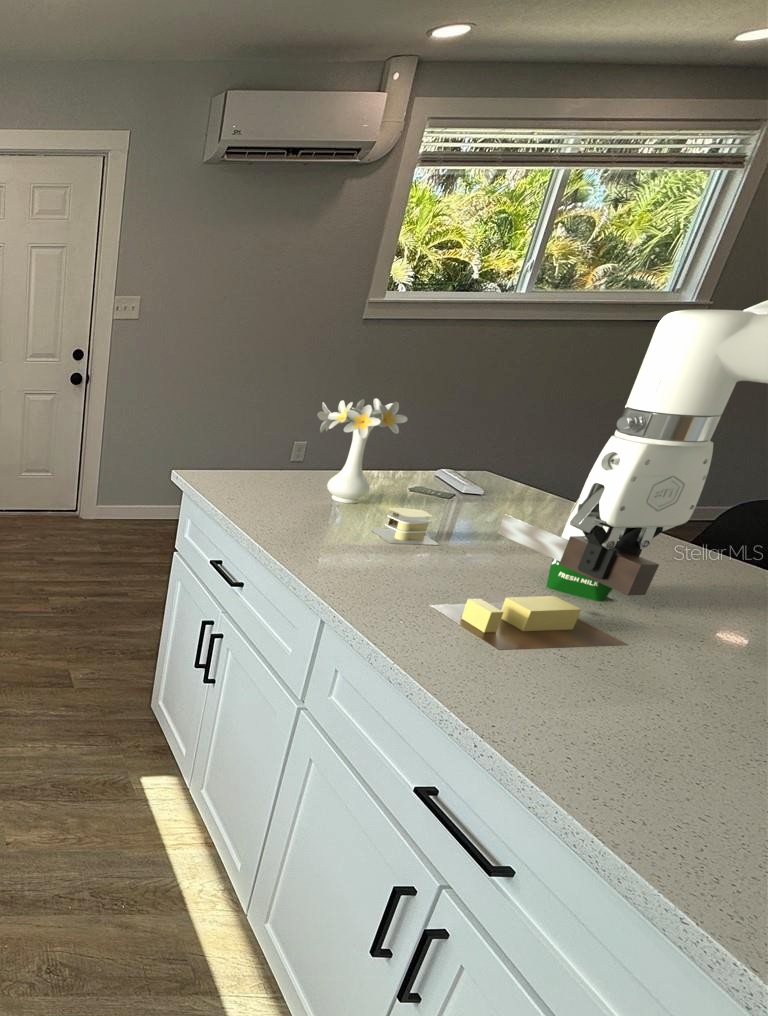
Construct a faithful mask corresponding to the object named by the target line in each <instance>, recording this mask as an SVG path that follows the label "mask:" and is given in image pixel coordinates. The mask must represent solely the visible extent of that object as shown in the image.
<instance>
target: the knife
mask: <svg viewBox="0 0 768 1016" xmlns="http://www.w3.org/2000/svg"><path fill="white" fill-rule="evenodd" d="M497 531H498V532H497V534H498V535H500V536H503V537H505V538H507V539H508V540H511V541H513V542H515V543H518V544H520V545H522V546H524V547H527V548H529V549H531V550H533V551H536V552H538V553H540V554H542V555H545V556H547V557H549V558H551V559H552V560H553V559H555V560H558V561H560V563H559V565H562V566H564V567H566V568H568V569H570V570H573V571H575V572H577V573H579V574H581V575H584V576H586V577H588V578H590V579H592V580H595V581H597V582H599V583H601V584H603V585H606V586H608V587H610V588H612V590H614V591H616V592H619V593H621V594H623V595H626V596H645V595H646V594H647V593H648V590H649V588H650V586H651V583H652V581H653V579H654V577H655V575H656V573H657V570H658V568H659V566H660V564H659V563H656V562H654V561H651V560H648V559H646V558H644V557H641V556H636V555H634V554H631V553H629V552H626V551H623V550H621V549H618V548H616V547H614V549H616V550H618V552H617V555H616V557H615V559H614V561H613V564H612V566H611V568H610V571H609V573H608V575H607V577H606V579H597V578H594V577H592V576H590V575H588V574H586V573H583V572H581V571H579V570H578V565H579V563H580V560H581V558H582V556H583V553H584V551H585V548H586V546H587V543H588V541H585V539H584V537H585V536H570V538H569V540H567V539H565V538H562V537H561V536H560V535H557V534H555V533H553V532H550V531H547V530H545V529H543V528H540V527H537V526H535V525H533V524H532V523H531V524H530V523H528V522H526V521H523V520H521V519H518V518H516V517H513V516H511V515H509V514H506V513H505V514H503V516H502V520H501V523H500V525H499V528H498V530H497Z"/></svg>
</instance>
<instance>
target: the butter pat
mask: <svg viewBox="0 0 768 1016" xmlns="http://www.w3.org/2000/svg"><path fill="white" fill-rule="evenodd" d="M489 603H490V602H487V601H485V600H483V599H482V598H468V599H467V600H466V603H465V604H466V606H465V609H464V612H463V615H462V619H463V620H465V621H466V622H468V623H470V624H471V625H473V626H474V627H476V628H478V629H479V630H481V631H482V632H484V633H486V632H497V629H498V626H499V623H500V621H501V618H502V615H503V613H504V612H503V611H501V610H499V609H497V608H496V607H494V606H492V605H490V604H489Z"/></svg>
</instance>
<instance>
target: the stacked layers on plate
mask: <svg viewBox="0 0 768 1016" xmlns="http://www.w3.org/2000/svg"><path fill="white" fill-rule="evenodd" d="M388 510H389V511H391V512H389V513H388V514H387V517H388V520H387V521H386V522H385V523H384V526H386V527H387V528H379V527H378V528H376V527H375V528H371V527H369V530H371V531H372V532H373V533H374V534H376V535H377V536H378V537H380V538H381V539H383V541H386V542H387V543H388V544H400V545H401V544H402V545H428V546H429V545H433V546H434V545H435V546H440V545H441V544H440V543H439V542H437V541H435V540H434V539H433V538H431V537H430V536H427V533H429V532H430V530H428V526H429V524H432V520H430V519H428V518H429V517H433V515H432V514H431V513H429V512H427V511H425V510H423V509H416V508H415V509H414V508H405V507H390V508H389V509H388ZM426 517H427V518H426Z"/></svg>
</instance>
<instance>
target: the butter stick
mask: <svg viewBox="0 0 768 1016" xmlns="http://www.w3.org/2000/svg"><path fill="white" fill-rule="evenodd" d="M503 602H504V604H503V607H502V609H501V611H503V612H504V613H503V615H502V618H501V619H503V620H505V621H506V622H508V623H510V624H512V625H513V626H515V627H517V628H518V629H520V630H522V631H544V630H571V629H573V628H574V625H575V623H576V621H577V618H578V619H579V616H580V614H581V611H582V609H581V608H579V607H578V606H575V605H573V604H572V603H570V602H567V601H565V600H563V599H562V598H559V597H557V596H555V595H541V596H536V595H535V596H508V597H505V599H504V601H503Z"/></svg>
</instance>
